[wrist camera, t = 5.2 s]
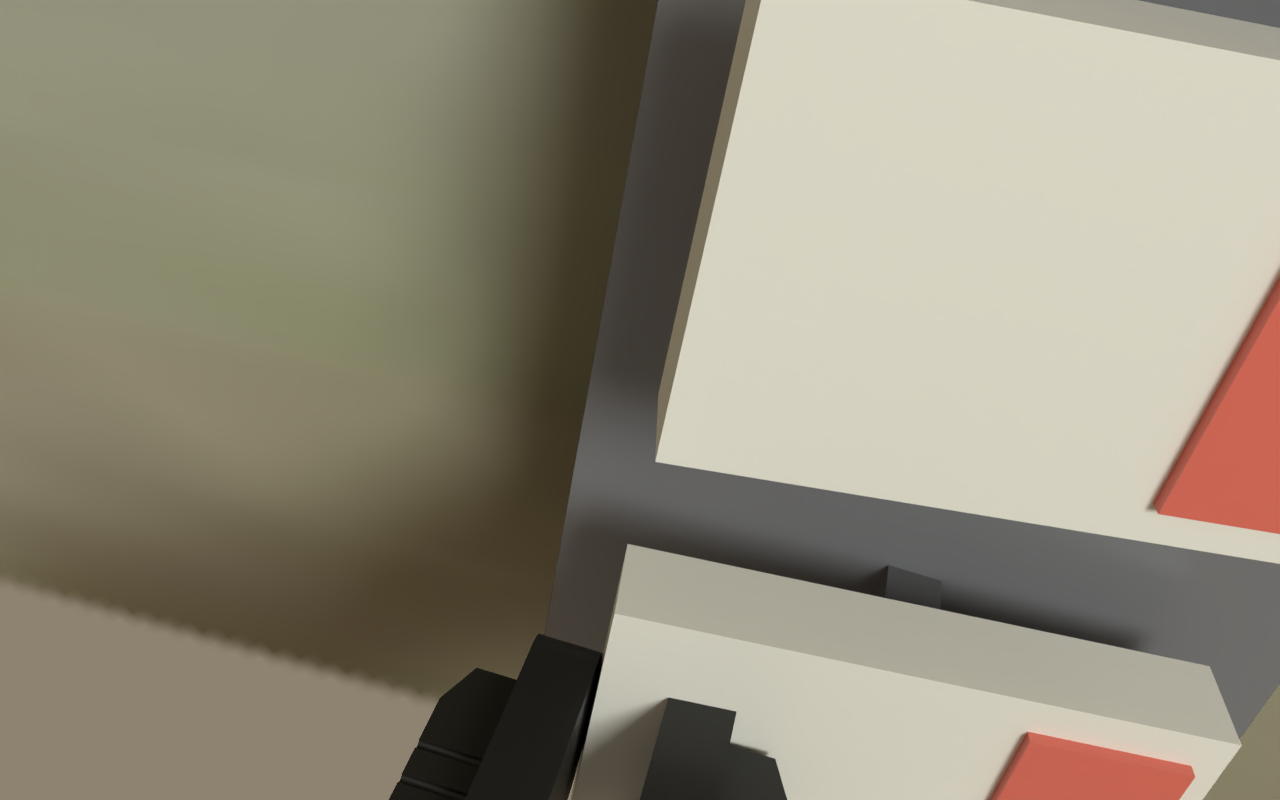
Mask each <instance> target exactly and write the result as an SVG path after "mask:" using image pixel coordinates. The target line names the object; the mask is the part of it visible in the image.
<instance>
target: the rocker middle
mask: <svg viewBox="0 0 1280 800" xmlns="http://www.w3.org/2000/svg"><path fill="white" fill-rule="evenodd" d="M655 462H659V463H665V464H671V465H677V466H683V467H689V468H696V469H702V470H708V471H714V472H720V473H726V474H732V475H738V476H744V477H751V478H757V479H763V480H769V481H775V482H781V483H787V484H793V485H800V486H806V487H812V488H818V489H824V490H830V491H836V492H842V493H849V494H855V495H861V496H867V497H873V498H879V499H885V500H891V501H898V502H904V503H910V504H916V505H922V506H928V507H934V508H940V509H946V510H953V511H959V512H965V513H971V514H977V515H983V516H989V517H995V518H1002V519H1008V520H1014V521H1020V522H1026V523H1032V524H1038V525H1044V526H1051V527H1057V528H1063V529H1069V530H1075V531H1081V532H1087V533H1093V534H1100V535H1106V536H1112V537H1118V538H1124V539H1130V540H1136V541H1142V542H1148V543H1155V544H1161V545H1167V546H1173V547H1179V548H1185V549H1191V550H1197V551H1204V552H1210V553H1216V554H1222V555H1228V556H1234V557H1240V558H1246V559H1253V560H1259V561H1265V562H1271V563H1277V564H1280V28H1277V27H1272V26H1267V25H1262V24H1257V23H1252V22H1247V21H1241V20H1236V19H1231V18H1226V17H1221V16H1216V15H1211V14H1206V13H1201V12H1195V11H1190V10H1185V9H1180V8H1175V7H1170V6H1165V5H1160V4H1154V3H1149V2H1144V1H1139V0H746V2H745V6H744V11H743V15H742V20H741V24H740V29H739V33H738V38H737V42H736V47H735V51H734V56H733V60H732V65H731V69H730V74H729V78H728V83H727V87H726V92H725V96H724V101H723V105H722V110H721V114H720V119H719V123H718V128H717V132H716V137H715V141H714V146H713V150H712V155H711V159H710V164H709V168H708V173H707V177H706V182H705V186H704V191H703V195H702V200H701V204H700V209H699V213H698V218H697V222H696V227H695V231H694V236H693V240H692V245H691V249H690V254H689V258H688V263H687V267H686V272H685V276H684V281H683V285H682V290H681V294H680V299H679V303H678V308H677V312H676V317H675V321H674V326H673V330H672V335H671V339H670V344H669V348H668V353H667V357H666V362H665V366H664V371H663V375H662V380H661V384H660V389H659V393H658V412H657V433H656V454H655Z"/></svg>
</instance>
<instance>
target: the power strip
mask: <svg viewBox="0 0 1280 800" xmlns="http://www.w3.org/2000/svg"><path fill="white" fill-rule="evenodd" d="M1139 1H1144V2H1149V3H1154V4H1160V5H1165V6H1170V7H1175V8H1180V9H1185V10H1190V11H1195V12H1201V13H1206V14H1211V15H1216V16H1221V17H1226V18H1231V19H1236V20H1241V21H1247V22H1252V23H1257V24H1262V25H1267V26H1272V27H1277V28H1280V0H1139ZM745 2H746V0H658V4H657V10H656V15H655V21H654V27H653V32H652V38H651V43H650V49H649V54H648V60H647V66H646V71H645V77H644V82H643V88H642V93H641V99H640V105H639V110H638V116H637V121H636V127H635V132H634V138H633V144H632V149H631V155H630V160H629V166H628V171H627V177H626V183H625V188H624V194H623V199H622V205H621V210H620V216H619V222H618V227H617V233H616V238H615V244H614V249H613V255H612V261H611V266H610V272H609V277H608V283H607V288H606V294H605V300H604V305H603V311H602V316H601V322H600V327H599V333H598V339H597V344H596V350H595V355H594V361H593V366H592V372H591V378H590V383H589V389H588V394H587V400H586V405H585V411H584V417H583V422H582V428H581V433H580V439H579V444H578V450H577V456H576V461H575V467H574V472H573V478H572V483H571V489H570V495H569V500H568V506H567V511H566V517H565V522H564V528H563V534H562V539H561V545H560V550H559V556H558V561H557V567H556V573H555V578H554V584H553V589H552V595H551V600H550V606H549V612H548V617H547V623H546V628H545V634H544V635H545V636H548V637H552V638H555V639H558V640H562V641H565V642H568V643H572V644H575V645H578V646H582V647H585V648H588V649H592V650H595V651H598V652H602V653H603V651H604V647H605V642H606V638H607V633H608V629H609V625H610V620H611V616H612V611H613V607H614V602H615V598H616V593H617V589H618V584H619V580H620V575H621V571H622V566H623V562H624V558H625V553H626V549H627V544H631V545H635V546H640V547H645V548H650V549H654V550H659V551H664V552H669V553H673V554H678V555H683V556H688V557H692V558H697V559H702V560H707V561H711V562H716V563H721V564H726V565H730V566H735V567H740V568H745V569H750V570H754V571H759V572H764V573H769V574H773V575H778V576H783V577H788V578H792V579H797V580H802V581H807V582H811V583H816V584H821V585H826V586H830V587H835V588H840V589H845V590H849V591H854V592H859V593H864V594H868V595H873V596H878V597H883V598H887V599H892V600H897V601H902V602H906V603H911V604H916V605H921V606H925V607H930V608H935V609H940V610H944V611H949V612H954V613H959V614H963V615H968V616H973V617H978V618H982V619H987V620H992V621H997V622H1001V623H1006V624H1011V625H1016V626H1020V627H1025V628H1030V629H1035V630H1039V631H1044V632H1049V633H1054V634H1058V635H1063V636H1068V637H1073V638H1077V639H1082V640H1087V641H1092V642H1096V643H1101V644H1106V645H1111V646H1115V647H1120V648H1125V649H1130V650H1134V651H1139V652H1144V653H1149V654H1153V655H1158V656H1163V657H1168V658H1172V659H1177V660H1182V661H1187V662H1192V663H1196V664H1201V665H1206V666H1210V668H1211V671H1212V673H1213V676H1214V678H1215V681H1216V683H1217V686H1218V688H1219V691H1220V693H1221V696H1222V698H1223V700H1224V703H1225V705H1226V708H1227V710H1228V713H1229V715H1230V718H1231V720H1232V723H1233V725H1234V728H1235V730H1236V733H1237V735H1238V738H1239V739H1240V738H1241V736H1242V735H1243V734H1244V732H1245V731H1246V730H1247V728H1248V727H1249V725H1250V724H1251V723H1252V721H1253V720H1254V718H1255V717H1256V716H1257V714H1258V713H1259V712H1260V710H1261V709H1262V707H1263V706H1264V705H1265V703H1266V702H1267V700H1268V699H1269V698H1270V696H1271V695H1272V694H1273V692H1274V691H1275V689H1276V688H1277V687H1278V685H1279V684H1280V564H1277V563H1271V562H1265V561H1259V560H1253V559H1246V558H1240V557H1234V556H1228V555H1222V554H1216V553H1210V552H1204V551H1197V550H1191V549H1185V548H1179V547H1173V546H1167V545H1161V544H1155V543H1148V542H1142V541H1136V540H1130V539H1124V538H1118V537H1112V536H1106V535H1100V534H1093V533H1087V532H1081V531H1075V530H1069V529H1063V528H1057V527H1051V526H1044V525H1038V524H1032V523H1026V522H1020V521H1014V520H1008V519H1002V518H995V517H989V516H983V515H977V514H971V513H965V512H959V511H953V510H946V509H940V508H934V507H928V506H922V505H916V504H910V503H904V502H898V501H891V500H885V499H879V498H873V497H867V496H861V495H855V494H849V493H842V492H836V491H830V490H824V489H818V488H812V487H806V486H800V485H793V484H787V483H781V482H775V481H769V480H763V479H757V478H751V477H744V476H738V475H732V474H726V473H720V472H714V471H708V470H702V469H696V468H689V467H683V466H677V465H671V464H665V463H659V462H655V454H656V433H657V412H658V393H659V389H660V384H661V380H662V375H663V371H664V366H665V362H666V357H667V353H668V348H669V344H670V339H671V335H672V330H673V326H674V321H675V317H676V312H677V308H678V303H679V299H680V294H681V290H682V285H683V281H684V276H685V272H686V267H687V263H688V258H689V254H690V249H691V245H692V240H693V236H694V231H695V227H696V222H697V218H698V213H699V209H700V204H701V200H702V195H703V191H704V186H705V182H706V177H707V173H708V168H709V164H710V159H711V155H712V150H713V146H714V141H715V137H716V132H717V128H718V123H719V119H720V114H721V110H722V105H723V101H724V96H725V92H726V87H727V83H728V78H729V74H730V69H731V65H732V60H733V56H734V51H735V47H736V42H737V38H738V33H739V29H740V24H741V20H742V15H743V11H744V6H745Z"/></svg>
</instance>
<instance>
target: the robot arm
mask: <svg viewBox="0 0 1280 800" xmlns="http://www.w3.org/2000/svg"><path fill="white" fill-rule="evenodd" d="M602 658H603V653H602V652H598V651H595V650H592V649H588V648H585V647H582V646H578V645H575V644H572V643H568V642H565V641H562V640H558V639H555V638H552V637H548V636H545V635H542V634H538V635H537V637H536V639H535V640H534V642H533V644H532V647H531V649H530V651H529V653H528V656H527V658H526V660H525V663H524V665H523V667H522V670H521V672H520V674H519V676H518V679H517V680H515V679H512V678H508V677H505V676H502V675H499V674H495V673H492V672H489V671H485V670H482V669H479V668H476V669H475V670H473V671H472V672H471V673H470V674H469V675H467V676H466V677H465V678H464V679H463V680H461V681H460V682H459V683H458V684H456V685H455V686H454V687H453V688H452V689H450V690H449V691H448V692H447V693H446V694H444V695H443V696H442V697H441V698H440V699H439V701H438V703H437V705H436V707H435V709H434V711H433V713H432V715H431V717H430V719H429V721H428V723H427V725H426V727H425V729H424V731H423V733H422V735H421V737H420V739H419V743H418V746H417V748H415V749H414V751H413V753H412V755H411V757H410V759H409V761H408V763H407V765H406V767H405V769H404V771H403V773H402V776H401V779H400V781H399V782H398V783H397V785H396V787H395V789H394V791H393V793H392V795H391V797H390V799H389V800H567V799H568V796H569V793H570V790H571V787H572V784H573V780H574V777H575V774H576V770H577V767H578V763H579V760H580V756H581V752H582V748H583V744H584V739H585V735H586V730H587V726H588V721H589V717H590V713H591V708H592V704H593V699H594V695H595V690H596V686H597V681H598V677H599V672H600V668H601V663H602ZM735 717H736V711H732V710H727V709H722V708H717V707H712V706H708V705H703V704H698V703H693V702H689V701H684V700H679V699H674V698H669V697H668V700H667V704H666V708H665V711H664V715H663V718H662V722H661V725H660V729H659V733H658V736H657V740H656V743H655V747H654V750H653V754H652V757H651V761H650V765H649V768H648V772H647V775H646V779H645V782H644V786H643V790H642V793H641V797H640V800H787V797H786V794H785V790H784V787H783V784H782V780H781V777H780V773H779V770H778V766H777V763H776V759H774V758H771V757H768V756H764V755H761V754H758V753H755V752H751V751H748V750H745V749H742V748H738V747H735V746H732V745H730V741H731V736H732V731H733V726H734V722H735Z"/></svg>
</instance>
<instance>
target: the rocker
mask: <svg viewBox="0 0 1280 800" xmlns="http://www.w3.org/2000/svg"><path fill="white" fill-rule="evenodd" d="M668 697H669V698H674V699H679V700H684V701H689V702H693V703H698V704H703V705H708V706H712V707H717V708H722V709H727V710H732V711H736V717H735V722H734V726H733V731H732V736H731V741H730V745H732V746H735V747H738V748H742V749H745V750H748V751H751V752H755V753H758V754H761V755H764V756H768V757H771V758H774V759H776V763H777V766H778V770H779V773H780V777H781V780H782V784H783V787H784V790H785V794H786V797H787V800H1202V799H1203V798H1204V797H1205V795H1206V794H1207V793H1208V791H1209V790H1210V788H1211V787H1212V786H1213V784H1214V783H1215V782H1216V780H1217V779H1218V777H1219V776H1220V775H1221V773H1222V772H1223V771H1224V769H1225V768H1226V766H1227V765H1228V764H1229V762H1230V761H1231V760H1232V758H1233V757H1234V755H1235V754H1236V753H1237V751H1238V750H1239V749H1240V747H1241V746H1242V745H1241V742H1240V740H1239V738H1238V735H1237V733H1236V730H1235V728H1234V725H1233V723H1232V720H1231V718H1230V715H1229V713H1228V710H1227V708H1226V705H1225V703H1224V700H1223V698H1222V696H1221V693H1220V691H1219V688H1218V686H1217V683H1216V681H1215V678H1214V676H1213V673H1212V671H1211V668H1210V666H1206V665H1201V664H1196V663H1192V662H1187V661H1182V660H1177V659H1172V658H1168V657H1163V656H1158V655H1153V654H1149V653H1144V652H1139V651H1134V650H1130V649H1125V648H1120V647H1115V646H1111V645H1106V644H1101V643H1096V642H1092V641H1087V640H1082V639H1077V638H1073V637H1068V636H1063V635H1058V634H1054V633H1049V632H1044V631H1039V630H1035V629H1030V628H1025V627H1020V626H1016V625H1011V624H1006V623H1001V622H997V621H992V620H987V619H982V618H978V617H973V616H968V615H963V614H959V613H954V612H949V611H944V610H940V609H935V608H930V607H925V606H921V605H916V604H911V603H906V602H902V601H897V600H892V599H887V598H883V597H878V596H873V595H868V594H864V593H859V592H854V591H849V590H845V589H840V588H835V587H830V586H826V585H821V584H816V583H811V582H807V581H802V580H797V579H792V578H788V577H783V576H778V575H773V574H769V573H764V572H759V571H754V570H750V569H745V568H740V567H735V566H730V565H726V564H721V563H716V562H711V561H707V560H702V559H697V558H692V557H688V556H683V555H678V554H673V553H669V552H664V551H659V550H654V549H650V548H645V547H640V546H635V545H631V544H627V549H626V553H625V558H624V562H623V566H622V571H621V575H620V580H619V584H618V589H617V593H616V598H615V602H614V607H613V611H612V616H611V620H610V625H609V629H608V633H607V638H606V642H605V647H604V651H603V658H602V663H601V668H600V672H599V677H598V681H597V686H596V690H595V695H594V699H593V704H592V708H591V713H590V717H589V721H588V726H587V730H586V735H585V739H584V744H583V748H582V752H581V756H580V760H579V763H578V768H577V772H576V776H575V781H574V785H573V790H572V795H571V800H640V797H641V793H642V790H643V786H644V782H645V779H646V775H647V772H648V768H649V765H650V761H651V757H652V754H653V750H654V747H655V743H656V740H657V736H658V733H659V729H660V725H661V722H662V718H663V715H664V711H665V708H666V704H667V700H668Z"/></svg>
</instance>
